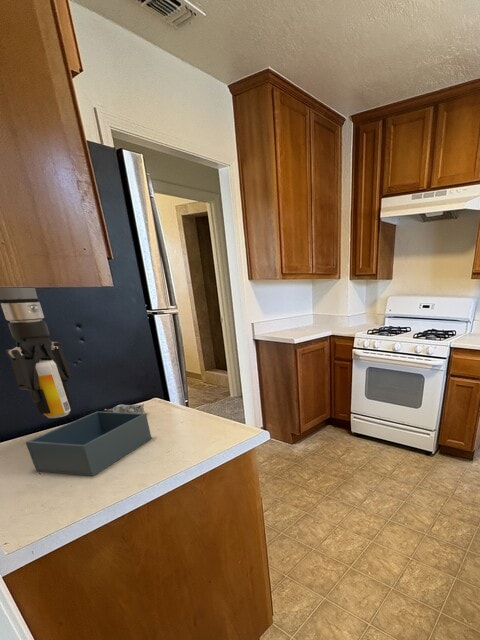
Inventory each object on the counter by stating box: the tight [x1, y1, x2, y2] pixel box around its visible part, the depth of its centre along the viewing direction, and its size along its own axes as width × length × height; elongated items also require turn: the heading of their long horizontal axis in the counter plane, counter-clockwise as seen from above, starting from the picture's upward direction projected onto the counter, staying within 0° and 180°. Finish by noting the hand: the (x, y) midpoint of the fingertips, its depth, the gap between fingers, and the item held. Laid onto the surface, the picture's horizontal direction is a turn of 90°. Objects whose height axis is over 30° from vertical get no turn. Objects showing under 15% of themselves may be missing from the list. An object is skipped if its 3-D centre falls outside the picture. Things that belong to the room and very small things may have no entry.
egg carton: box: [103, 403, 146, 414], centre depth 117 cm, size 11×8×4 cm
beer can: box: [36, 359, 72, 419], centre depth 95 cm, size 6×6×15 cm
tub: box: [25, 410, 153, 477], centre depth 91 cm, size 16×22×8 cm
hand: (56, 408), depth 97 cm, fingers closed on beer can, 6 cm apart
